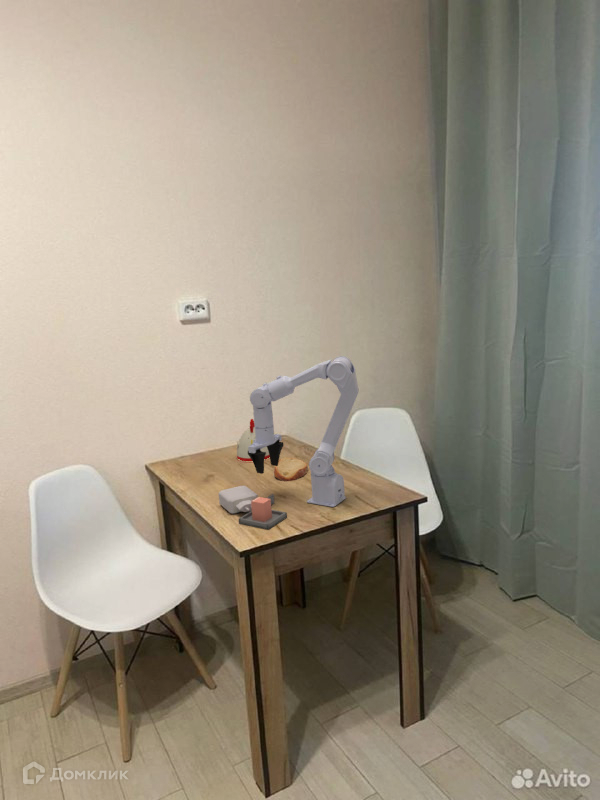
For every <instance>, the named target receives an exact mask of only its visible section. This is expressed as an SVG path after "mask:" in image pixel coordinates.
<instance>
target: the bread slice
mask: <svg viewBox="0 0 600 800" xmlns="http://www.w3.org/2000/svg"><path fill="white" fill-rule="evenodd" d="M308 467H309V465H308V463H307V462H305V461H304V460H303V459H299V458H295V457H282V458H281V459H280V458H279V462H278V466H274V471H273V473H274V477H275V478H276V479H278V480H280V481H282V482H292V481H297V480H298V479H301V478H303V477H305V476H306V475H307V473H308V470H309V468H308Z"/></svg>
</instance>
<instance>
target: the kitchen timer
mask: <svg viewBox="0 0 600 800" xmlns="http://www.w3.org/2000/svg"><path fill="white" fill-rule="evenodd" d="M254 439H256V437H255V425H254V418H251V419H250V421H249V428H247V429H246V430H244V432H243V433H242V435H241V436H240V438H239V440H238V441H236V443H237V445H236V457H237V458H238V459H240V460H242V461H252V459H251V458H250V456H249V455H248V451H249V449H248V446H250V445H252V444H253V443H254V442H253V440H254ZM260 451H262V452H266V455H265V459H267V458H269V457H270V455H269V451H268V448H267V446H266V447H264V448H262V449H260ZM238 459H237V460H238Z"/></svg>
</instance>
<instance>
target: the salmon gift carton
mask: <svg viewBox="0 0 600 800" xmlns="http://www.w3.org/2000/svg"><path fill="white" fill-rule="evenodd" d="M251 506H252V518H253V520H258V521H263V522H265V521H267V520H268V519H270V518H272V510H273V509H272V505H271V499H268V498H267V497H263V496H258V497H257V498H256V499H254V500H252V501H251Z"/></svg>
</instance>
